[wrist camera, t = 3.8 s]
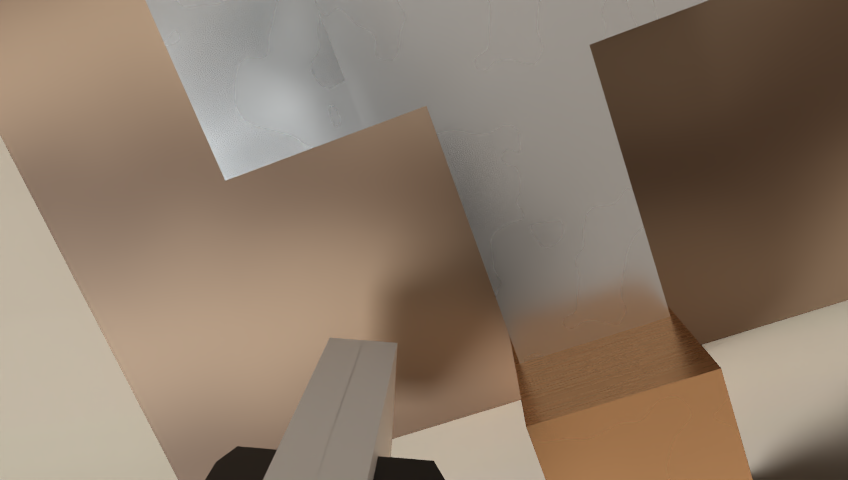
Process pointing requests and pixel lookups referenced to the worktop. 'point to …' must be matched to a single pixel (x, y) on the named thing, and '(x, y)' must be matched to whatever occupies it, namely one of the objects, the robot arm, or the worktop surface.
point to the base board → (407, 212)
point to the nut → (492, 193)
